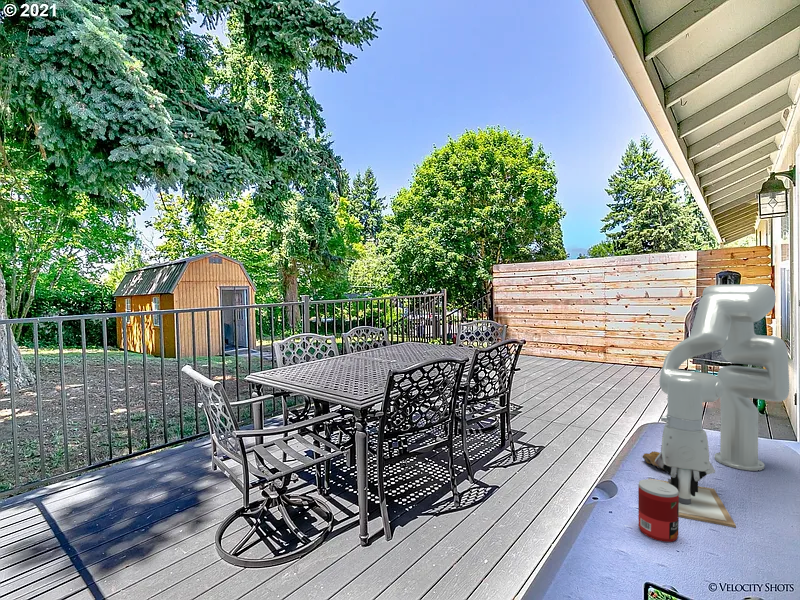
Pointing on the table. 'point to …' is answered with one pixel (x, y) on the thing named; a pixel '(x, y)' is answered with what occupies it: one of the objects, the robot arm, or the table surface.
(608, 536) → the table surface
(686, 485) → the marker
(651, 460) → the decorative rock
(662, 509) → the canned food
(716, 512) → the clipboard
